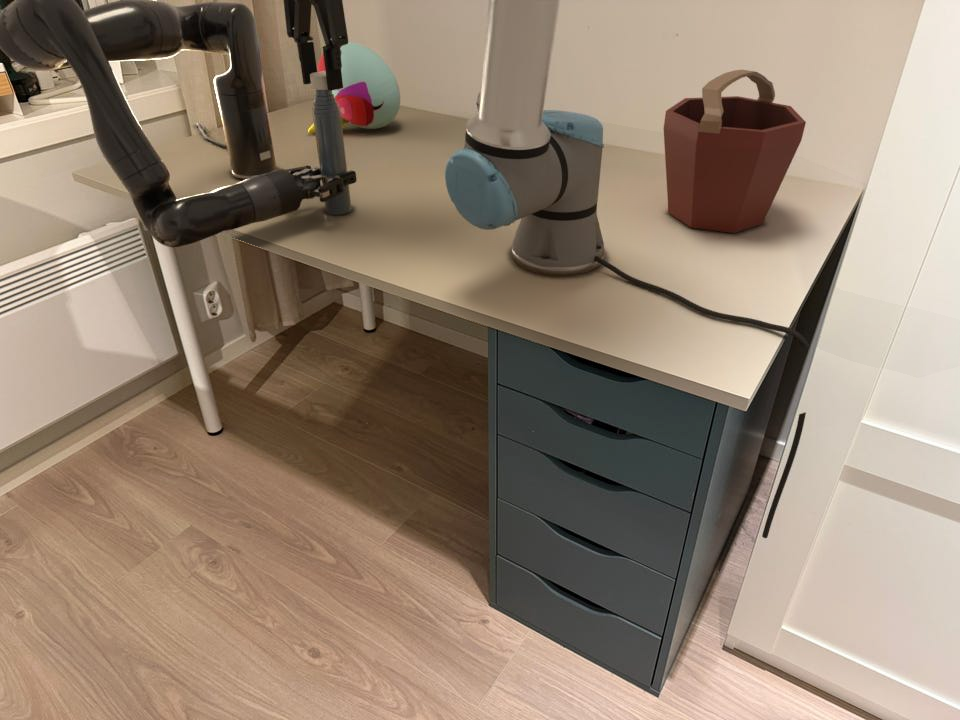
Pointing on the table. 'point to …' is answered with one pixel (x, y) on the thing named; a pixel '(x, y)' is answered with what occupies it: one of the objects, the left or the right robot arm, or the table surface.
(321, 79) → the cap
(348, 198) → the bottle
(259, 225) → the table surface
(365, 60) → the toy
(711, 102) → the bucket
